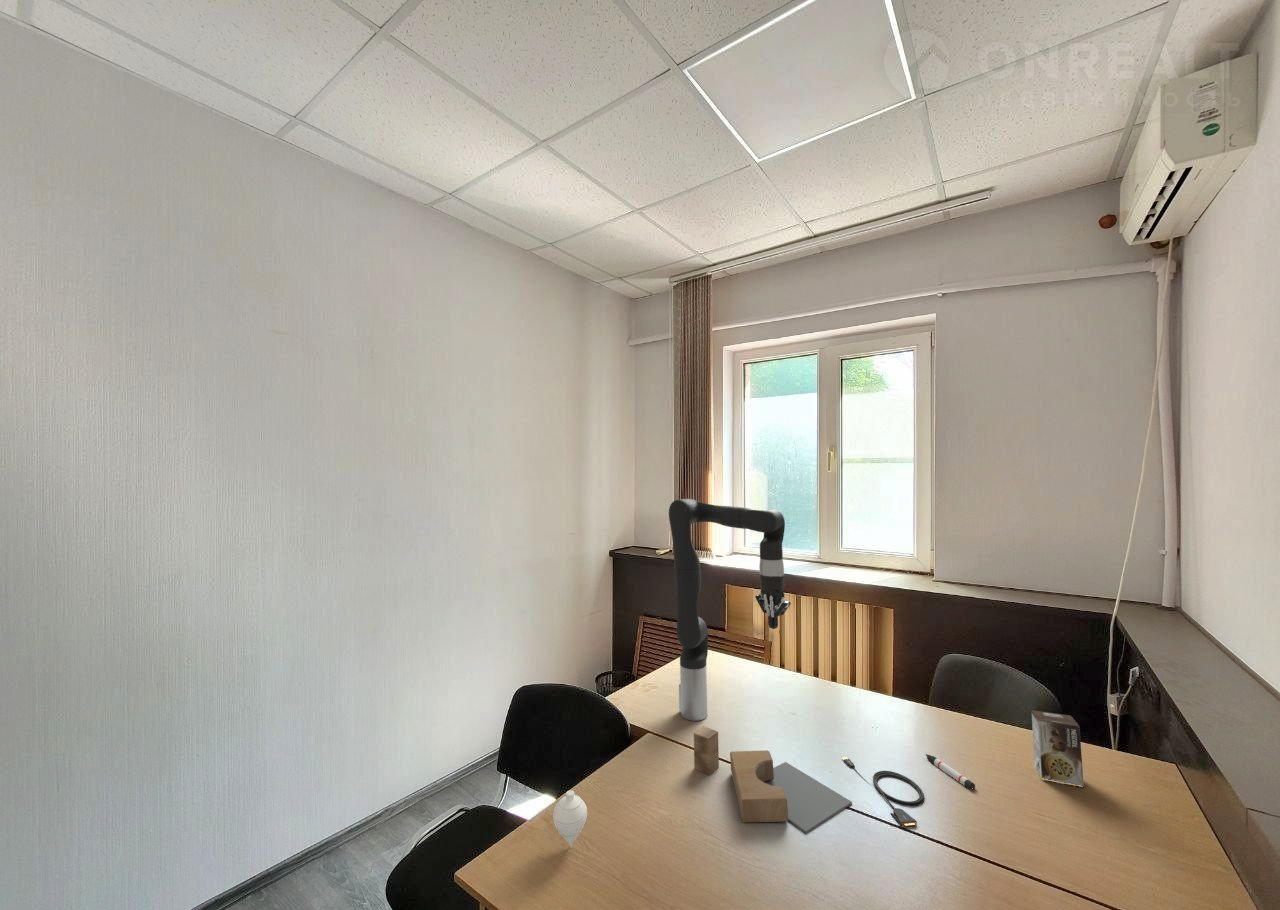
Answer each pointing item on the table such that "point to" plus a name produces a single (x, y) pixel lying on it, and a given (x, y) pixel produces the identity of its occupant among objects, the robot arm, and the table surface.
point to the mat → (806, 797)
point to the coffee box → (1057, 747)
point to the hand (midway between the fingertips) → (773, 628)
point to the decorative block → (757, 787)
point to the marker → (951, 772)
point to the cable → (897, 813)
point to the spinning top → (570, 816)
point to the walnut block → (706, 750)
